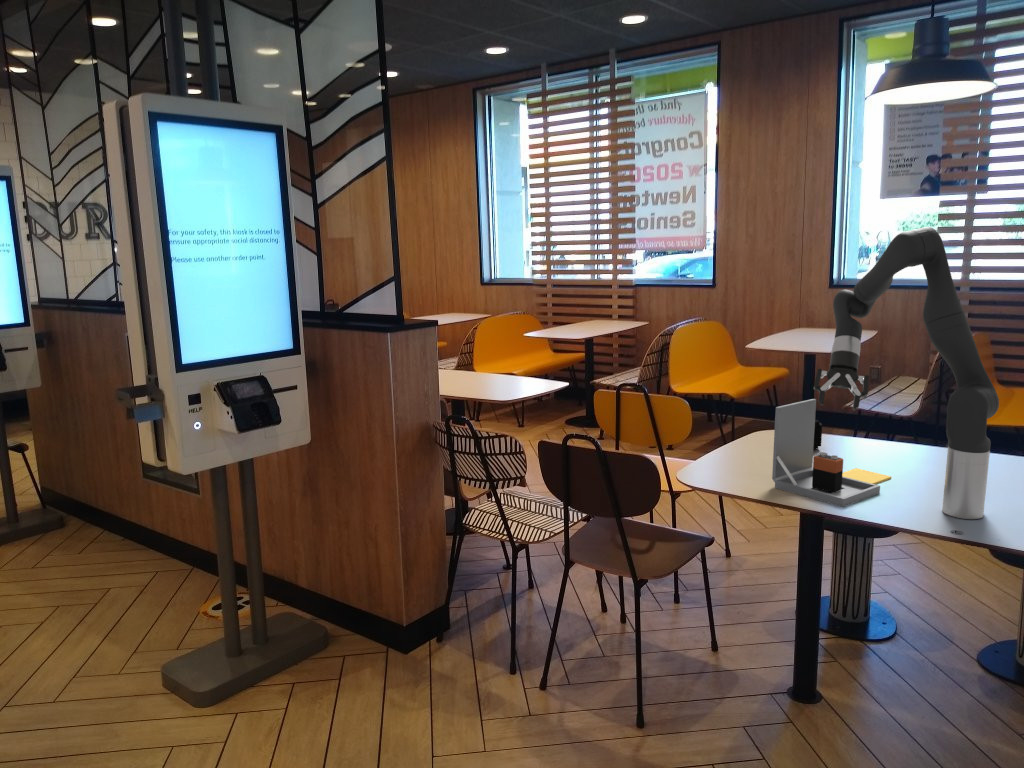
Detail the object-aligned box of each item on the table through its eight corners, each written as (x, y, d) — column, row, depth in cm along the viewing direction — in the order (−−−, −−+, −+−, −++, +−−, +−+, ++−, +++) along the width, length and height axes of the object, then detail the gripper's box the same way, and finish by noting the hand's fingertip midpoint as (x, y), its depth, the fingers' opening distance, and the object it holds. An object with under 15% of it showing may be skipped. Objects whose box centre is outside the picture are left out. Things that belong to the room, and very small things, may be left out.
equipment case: (808, 475, 237) (813, 398, 233) (879, 493, 220) (885, 411, 216) (771, 486, 227) (775, 407, 222) (843, 507, 209) (848, 421, 205)
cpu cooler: (819, 446, 269) (820, 416, 267) (823, 450, 264) (824, 420, 262) (787, 445, 271) (788, 416, 269) (790, 449, 265) (792, 420, 263)
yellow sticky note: (856, 470, 242) (856, 468, 241) (891, 478, 233) (891, 476, 233) (835, 476, 235) (835, 474, 235) (871, 485, 226) (871, 483, 226)
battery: (819, 484, 227) (821, 450, 225) (842, 490, 222) (844, 455, 220) (811, 487, 224) (813, 453, 222) (833, 493, 219) (836, 458, 217)
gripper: (820, 346, 228) (812, 398, 223) (874, 353, 223) (867, 406, 218) (818, 356, 234) (810, 407, 230) (870, 363, 230) (863, 415, 225)
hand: (837, 407), depth 224 cm, fingers open, 8 cm apart
